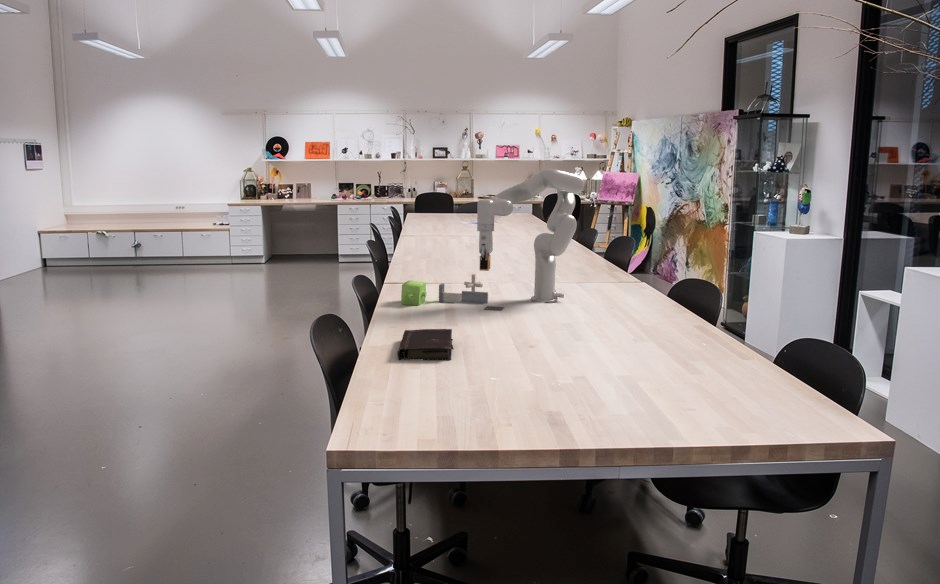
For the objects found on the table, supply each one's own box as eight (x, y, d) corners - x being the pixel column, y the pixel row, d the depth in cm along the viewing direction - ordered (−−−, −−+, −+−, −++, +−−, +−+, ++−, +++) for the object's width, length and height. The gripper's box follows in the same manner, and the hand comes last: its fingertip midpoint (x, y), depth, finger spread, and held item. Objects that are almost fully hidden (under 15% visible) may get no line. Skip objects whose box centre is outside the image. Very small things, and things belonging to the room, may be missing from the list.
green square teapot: (419, 309, 313) (420, 288, 311) (398, 306, 315) (398, 286, 313) (430, 300, 330) (431, 280, 328) (410, 298, 332) (410, 278, 330)
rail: (488, 302, 325) (488, 285, 324) (486, 305, 320) (486, 287, 319) (441, 300, 330) (441, 283, 329) (438, 302, 325) (438, 285, 324)
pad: (504, 307, 315) (504, 307, 315) (501, 311, 307) (501, 310, 307) (486, 306, 317) (486, 305, 317) (483, 310, 309) (483, 309, 309)
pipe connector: (475, 297, 336) (475, 277, 335) (458, 295, 342) (459, 274, 340) (487, 294, 344) (487, 274, 342) (471, 292, 350) (471, 272, 348)
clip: (490, 268, 318) (490, 255, 317) (488, 270, 313) (488, 256, 312) (481, 268, 319) (481, 254, 318) (479, 270, 314) (479, 256, 313)
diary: (397, 362, 234) (396, 347, 233) (403, 342, 259) (403, 329, 258) (453, 361, 234) (453, 347, 233) (454, 342, 259) (454, 328, 258)
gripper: (491, 229, 304) (490, 271, 307) (496, 226, 320) (496, 265, 324) (473, 229, 305) (473, 270, 308) (480, 225, 321) (479, 264, 325)
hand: (485, 267), depth 316 cm, fingers closed on clip, 5 cm apart
